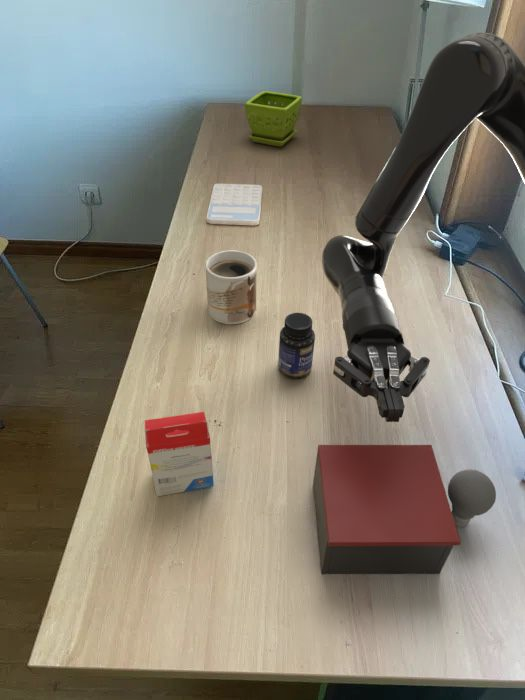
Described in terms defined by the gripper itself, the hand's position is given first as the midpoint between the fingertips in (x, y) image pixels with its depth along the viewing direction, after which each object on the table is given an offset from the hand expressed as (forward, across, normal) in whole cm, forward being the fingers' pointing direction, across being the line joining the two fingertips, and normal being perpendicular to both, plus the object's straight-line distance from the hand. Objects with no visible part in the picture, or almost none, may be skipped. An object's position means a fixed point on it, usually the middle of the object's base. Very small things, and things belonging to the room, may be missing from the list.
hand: (393, 417), depth 67 cm
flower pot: (-135, -10, +20) cm, 137 cm away
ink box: (-5, -27, +20) cm, 34 cm away
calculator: (-90, -21, +20) cm, 95 cm away
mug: (-47, -20, +20) cm, 55 cm away
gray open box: (+3, 0, +20) cm, 20 cm away
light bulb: (+2, +12, +20) cm, 24 cm away
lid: (+3, 0, +11) cm, 12 cm away
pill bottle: (-29, -9, +20) cm, 37 cm away
